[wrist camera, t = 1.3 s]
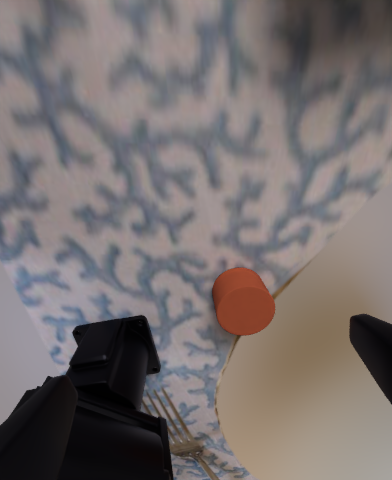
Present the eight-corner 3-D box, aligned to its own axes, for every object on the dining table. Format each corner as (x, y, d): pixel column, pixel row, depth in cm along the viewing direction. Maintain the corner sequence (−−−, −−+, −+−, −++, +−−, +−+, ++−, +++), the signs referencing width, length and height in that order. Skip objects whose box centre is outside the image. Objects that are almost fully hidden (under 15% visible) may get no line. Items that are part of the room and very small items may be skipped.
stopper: (264, 306, 21) (276, 330, 18) (215, 314, 21) (220, 340, 18) (261, 263, 19) (273, 281, 17) (208, 272, 19) (212, 292, 17)
